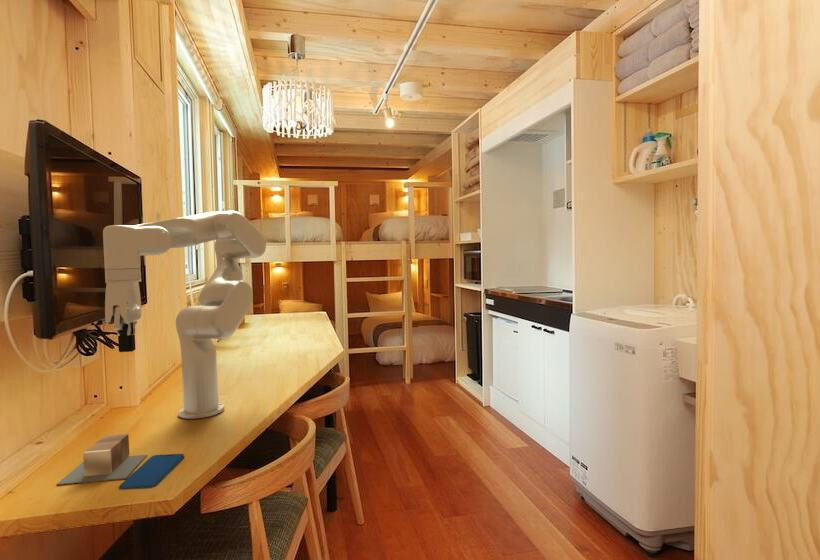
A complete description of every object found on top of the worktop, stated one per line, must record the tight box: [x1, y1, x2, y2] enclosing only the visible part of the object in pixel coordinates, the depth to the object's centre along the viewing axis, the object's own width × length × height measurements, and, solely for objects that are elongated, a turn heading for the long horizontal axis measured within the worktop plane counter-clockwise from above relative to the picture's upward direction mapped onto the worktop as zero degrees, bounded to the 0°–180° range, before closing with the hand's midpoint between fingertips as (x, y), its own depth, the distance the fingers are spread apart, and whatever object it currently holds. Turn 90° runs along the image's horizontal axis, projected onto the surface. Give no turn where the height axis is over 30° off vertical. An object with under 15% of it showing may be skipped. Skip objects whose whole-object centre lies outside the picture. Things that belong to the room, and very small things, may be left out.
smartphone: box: [118, 453, 185, 490], centre depth 104 cm, size 7×1×15 cm
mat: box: [56, 454, 148, 486], centre depth 105 cm, size 12×13×1 cm
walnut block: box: [82, 433, 130, 476], centre depth 107 cm, size 5×5×10 cm
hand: (127, 351), depth 119 cm, fingers closed
